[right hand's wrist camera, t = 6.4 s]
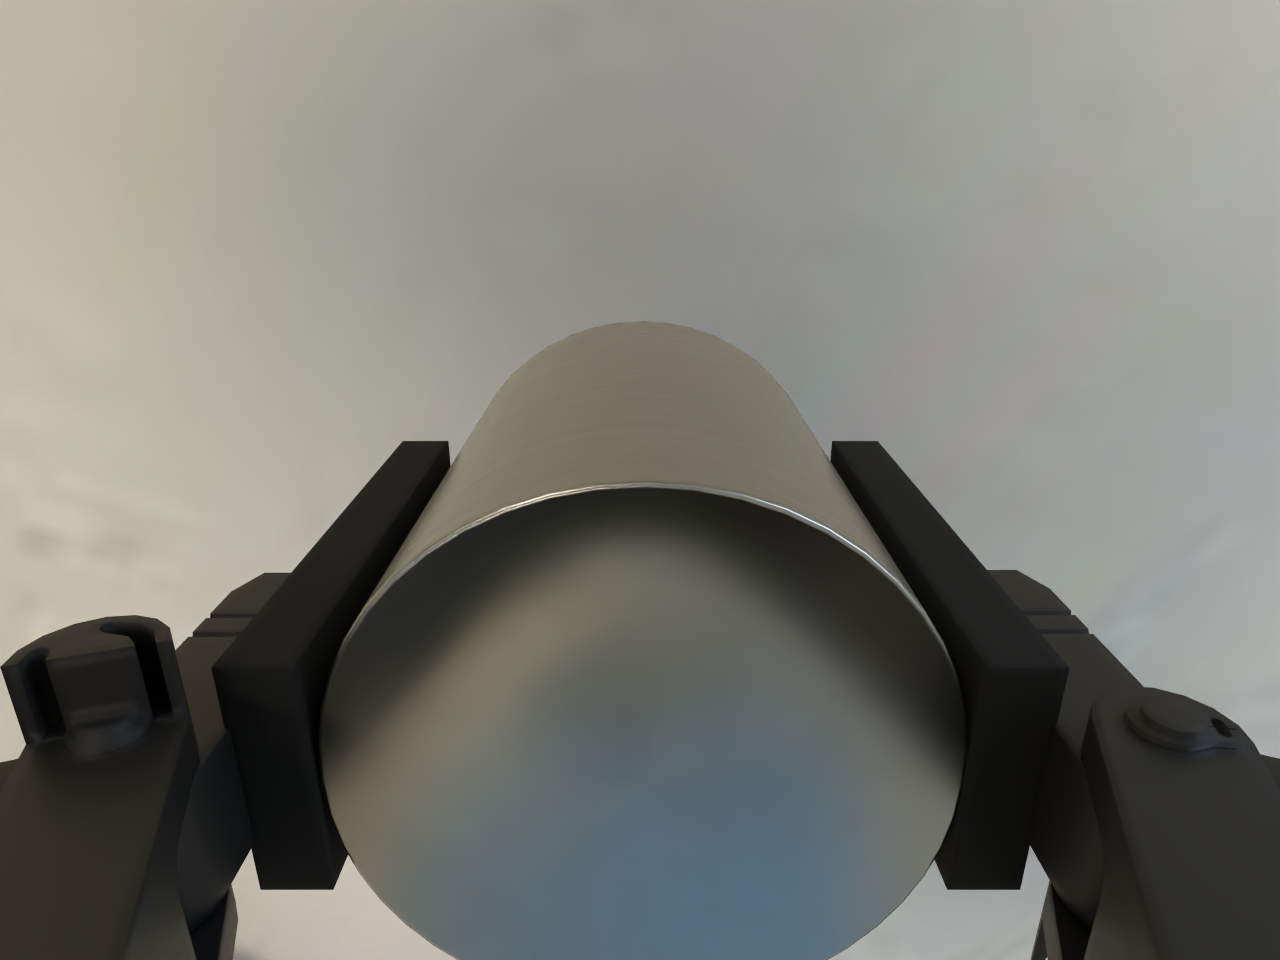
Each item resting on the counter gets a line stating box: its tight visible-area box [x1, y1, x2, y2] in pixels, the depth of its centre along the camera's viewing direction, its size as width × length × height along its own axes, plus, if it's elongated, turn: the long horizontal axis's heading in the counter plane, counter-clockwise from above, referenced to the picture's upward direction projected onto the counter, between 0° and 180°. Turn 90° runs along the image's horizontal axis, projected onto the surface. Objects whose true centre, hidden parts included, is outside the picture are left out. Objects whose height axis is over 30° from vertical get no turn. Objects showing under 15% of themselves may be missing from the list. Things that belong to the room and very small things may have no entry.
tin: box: [318, 321, 968, 960], centre depth 12 cm, size 6×6×8 cm
